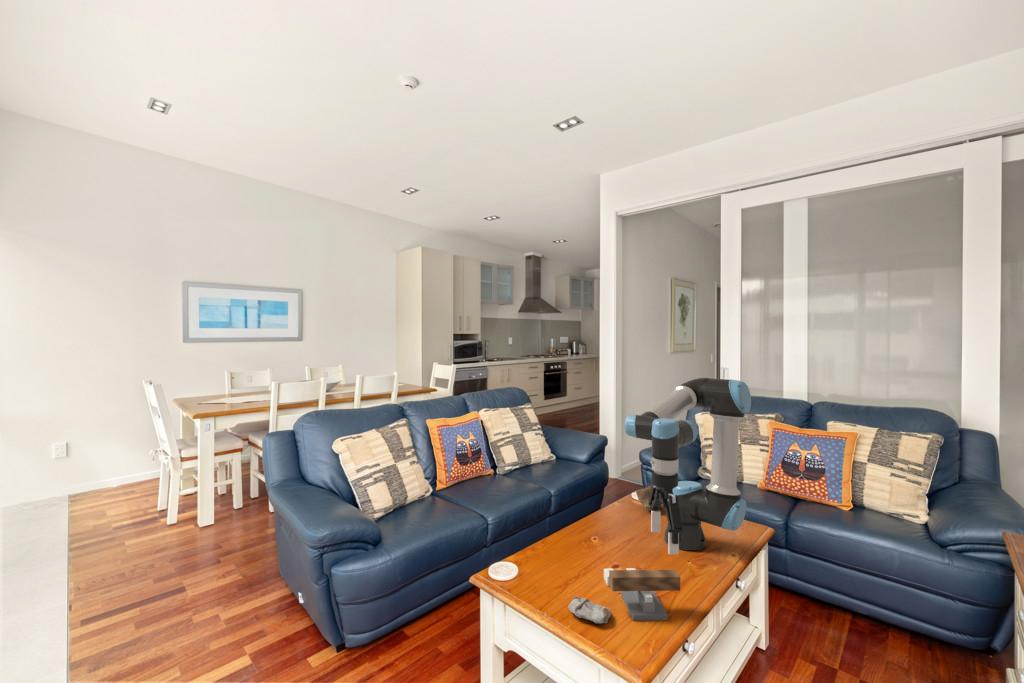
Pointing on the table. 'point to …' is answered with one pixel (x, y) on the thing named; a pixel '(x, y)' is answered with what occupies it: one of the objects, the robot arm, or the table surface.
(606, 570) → the blocks
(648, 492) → the rock
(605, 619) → the stone
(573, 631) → the table surface
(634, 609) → the fulcrum
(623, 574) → the bar
